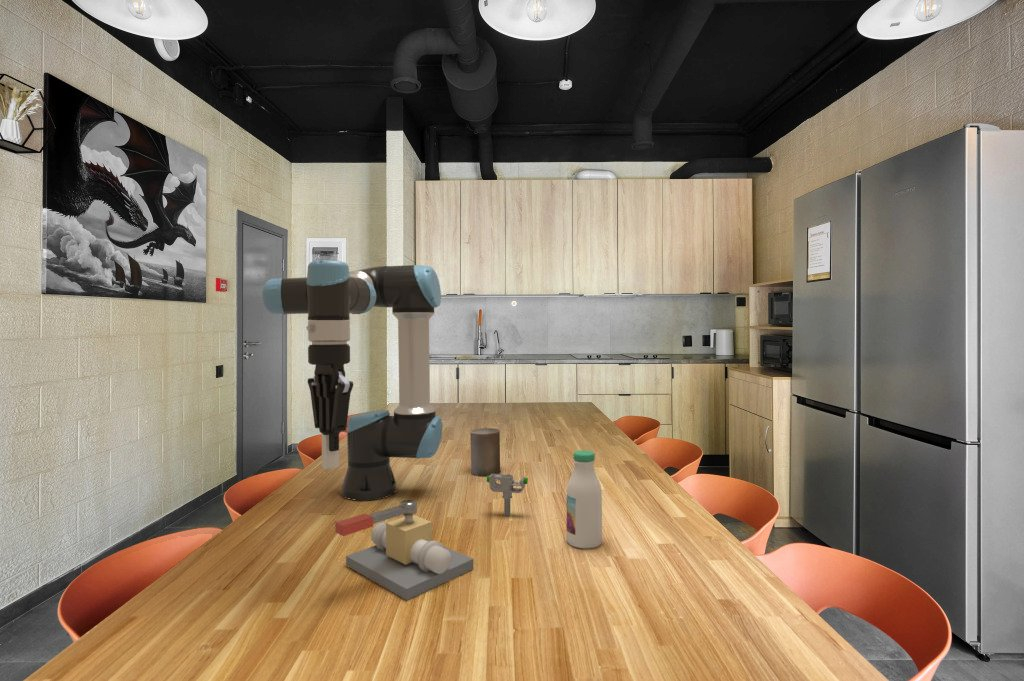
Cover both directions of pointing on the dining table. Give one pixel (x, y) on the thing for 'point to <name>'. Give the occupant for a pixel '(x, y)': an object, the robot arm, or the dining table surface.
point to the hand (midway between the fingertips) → (330, 467)
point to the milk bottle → (584, 503)
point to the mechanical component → (506, 487)
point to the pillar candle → (485, 451)
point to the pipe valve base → (408, 558)
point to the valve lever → (374, 518)
